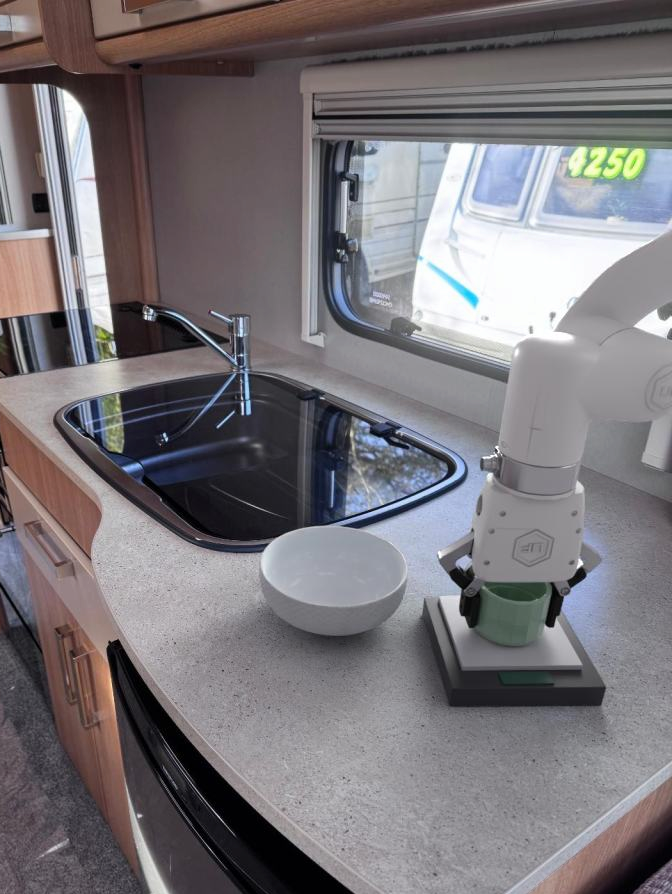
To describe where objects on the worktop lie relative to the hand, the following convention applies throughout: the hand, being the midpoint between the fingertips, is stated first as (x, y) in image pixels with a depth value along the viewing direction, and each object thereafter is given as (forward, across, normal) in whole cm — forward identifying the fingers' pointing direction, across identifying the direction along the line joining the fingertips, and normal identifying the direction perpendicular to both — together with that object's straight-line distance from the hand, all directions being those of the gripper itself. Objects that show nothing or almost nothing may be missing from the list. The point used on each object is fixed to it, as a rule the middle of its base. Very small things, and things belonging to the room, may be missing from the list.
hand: (507, 619), depth 76 cm
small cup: (+1, 0, 0) cm, 1 cm away
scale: (+4, 0, -1) cm, 4 cm away
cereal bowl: (+4, -18, +7) cm, 20 cm away
